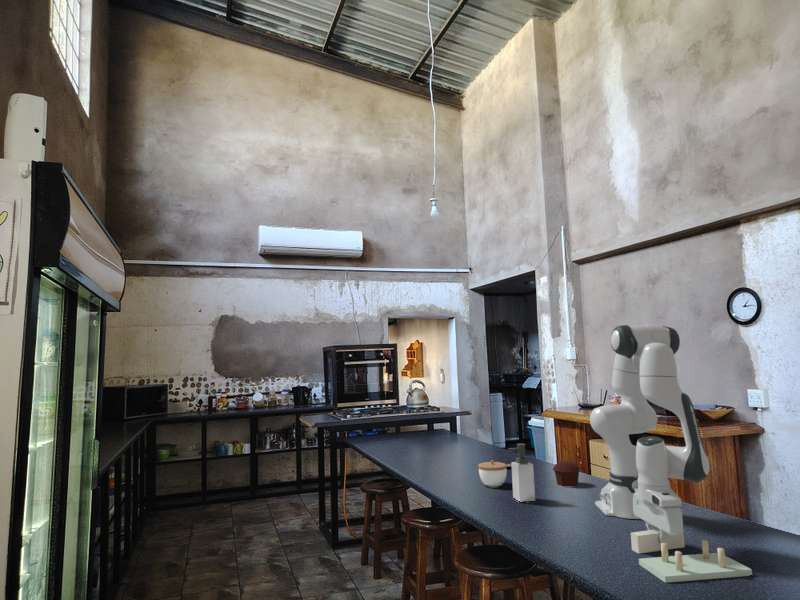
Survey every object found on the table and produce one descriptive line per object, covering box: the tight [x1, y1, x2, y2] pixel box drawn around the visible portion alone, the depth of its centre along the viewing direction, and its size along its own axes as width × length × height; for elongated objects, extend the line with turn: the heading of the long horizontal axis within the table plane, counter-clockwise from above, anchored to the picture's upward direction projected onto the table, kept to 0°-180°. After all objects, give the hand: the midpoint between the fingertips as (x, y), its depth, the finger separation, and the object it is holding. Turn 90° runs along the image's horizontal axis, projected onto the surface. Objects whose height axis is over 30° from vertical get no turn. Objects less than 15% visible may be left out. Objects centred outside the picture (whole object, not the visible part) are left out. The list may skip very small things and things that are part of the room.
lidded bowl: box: [477, 459, 508, 487], centre depth 238 cm, size 13×13×11 cm
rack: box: [638, 539, 753, 584], centre depth 142 cm, size 24×12×6 cm, turn 96°
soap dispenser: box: [507, 443, 536, 502], centre depth 213 cm, size 6×9×22 cm
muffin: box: [552, 460, 581, 487], centre depth 236 cm, size 12×11×10 cm
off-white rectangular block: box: [630, 528, 686, 555], centre depth 157 cm, size 16×3×5 cm, turn 104°
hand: (657, 540), depth 157 cm, fingers closed on off-white rectangular block, 3 cm apart
